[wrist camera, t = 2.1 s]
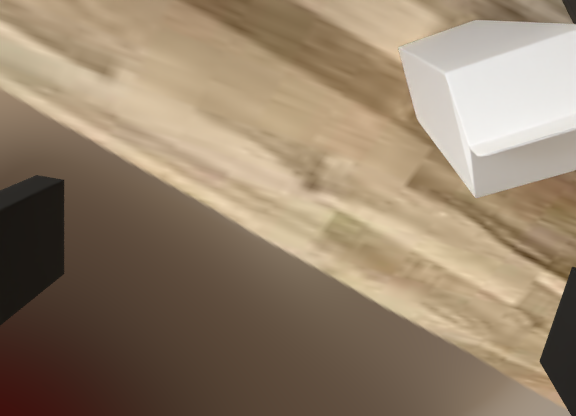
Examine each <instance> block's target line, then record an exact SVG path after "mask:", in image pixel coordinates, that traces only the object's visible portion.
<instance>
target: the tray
mask: <svg viewBox="0 0 576 416" xmlns="http://www.w3.org/2000/svg"><path fill="white" fill-rule="evenodd" d="M562 1H563V3H564V5H565V7H566V9H567V11H568V13H569V15H570V17H571V19H572V21H573V23H574V24H576V0H562Z"/></svg>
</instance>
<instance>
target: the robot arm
mask: <svg viewBox="0 0 576 416" xmlns="http://www.w3.org/2000/svg"><path fill="white" fill-rule="evenodd" d="M63 274H64V180H61V179H56V178H50V177H44V176H38V175H36V176H33V177H31V178H29V179H26V180H24V181H22V182H19V183H17V184H15V185H12V186H10V187H8V188H5V189H3V190H0V325H1V324H3V323H4V322H5V321H6V320H7V319H9V318H10V317H11V316H12V315H14V314H15V313H16V312H17V311H18V310H20V309H21V308H22V307H23V306H25V305H26V304H27V303H28V302H30V301H31V300H32V299H33V298H35V297H36V296H37V295H38V294H40V293H41V292H42V291H43V290H45V289H46V288H47V287H48V286H50V285H51V284H52V283H53V282H55V281H56V280H57V279H58V278H59V277H61V276H62V275H63ZM540 363H541V365H542V366H543V368H544V370H545V372H546V373H547V375H548V377H549V378H550V380H551V382H552V383H553V385H554V387H555V389H556V390H557V392H558V394H559V395H560V397H561V399H562V400H563V402H564V404H565V406H566V407H567V409H568V411H569V412H570V414H571V415H572V416H576V268H575V267H572V269H571V272H570V275H569V278H568V281H567V283H566V286H565V289H564V292H563V295H562V298H561V301H560V304H559V307H558V309H557V312H556V315H555V318H554V321H553V324H552V327H551V330H550V333H549V335H548V338H547V341H546V344H545V347H544V350H543V353H542V356H541V359H540Z"/></svg>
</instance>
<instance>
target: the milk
mask: <svg viewBox="0 0 576 416" xmlns="http://www.w3.org/2000/svg"><path fill="white" fill-rule="evenodd" d="M398 50H399V54H400V58H401V61H402V65H403V69H404V72H405V76H406V80H407V84H408V87H409V91H410V95H411V98H412V102H413V106H414V109H415V113H416V117H417V120H418V121H419V123H420V124H421V126H422V127H423V128H424V130H425V131H426V132H427V134H428V135H429V136H430V138H431V139H432V140H433V142H434V143H435V144H436V146H437V147H438V148H439V150H440V151H441V152H442V154H443V155H444V156H445V158H446V159H447V160H448V162H449V163H450V164H451V166H452V167H453V169H454V170H455V171H456V173H457V174H458V175H459V177H460V178H461V179H462V181H463V182H464V183H465V185H466V186H467V187H468V189H469V190H470V191H471V193H472V194H473V195H474V197H475V198H479V197H483V196H486V195H490V194H493V193H497V192H500V191H504V190H508V189H511V188H515V187H518V186H522V185H525V184H529V183H532V182H536V181H540V180H543V179H547V178H550V177H554V176H557V175H561V174H564V173H568V172H572V171H575V170H576V24H562V23H538V22H514V21H490V20H474V21H471V22H468V23H465V24H462V25H460V26H457V27H454V28H451V29H448V30H445V31H442V32H439V33H437V34H434V35H431V36H428V37H425V38H422V39H419V40H416V41H414V42H411V43H408V44H405V45H402V46H399V47H398Z"/></svg>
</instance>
